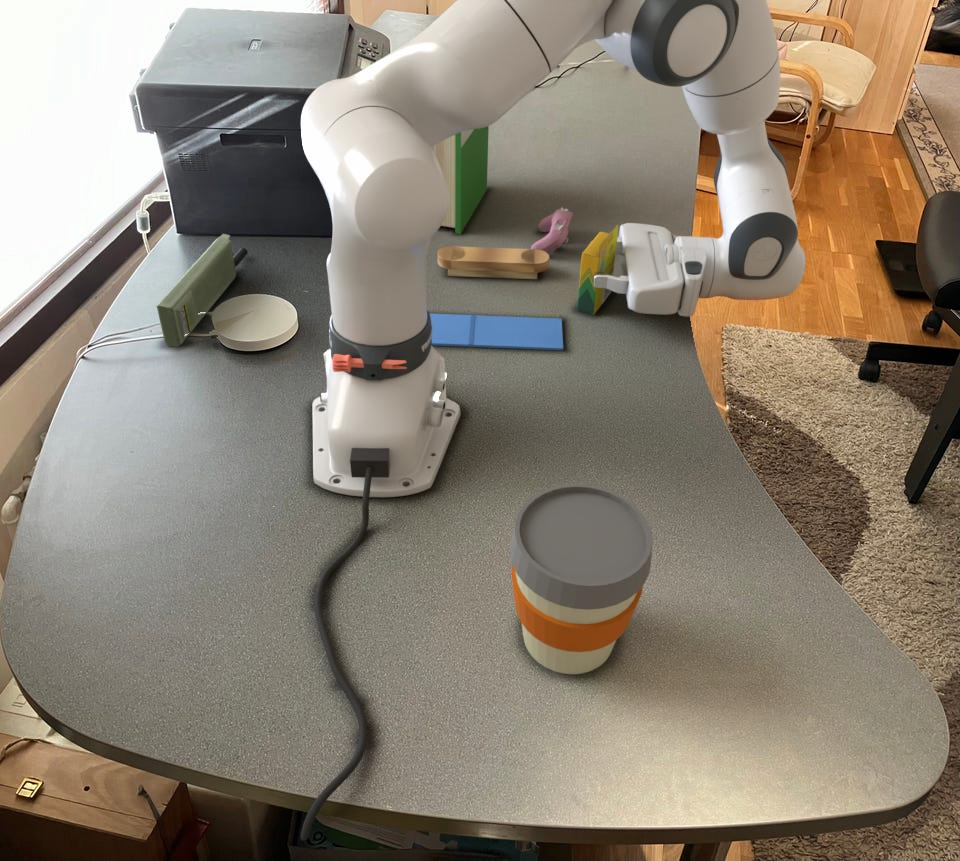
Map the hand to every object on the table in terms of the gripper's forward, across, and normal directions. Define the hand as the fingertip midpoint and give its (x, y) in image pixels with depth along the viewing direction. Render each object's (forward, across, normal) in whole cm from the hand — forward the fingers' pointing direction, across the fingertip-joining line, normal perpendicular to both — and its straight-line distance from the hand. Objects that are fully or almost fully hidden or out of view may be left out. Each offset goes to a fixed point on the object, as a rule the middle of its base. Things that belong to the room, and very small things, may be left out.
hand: (592, 263), depth 127 cm
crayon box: (-1, 0, +7) cm, 7 cm away
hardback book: (+22, -29, +7) cm, 37 cm away
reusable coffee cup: (+5, +61, +7) cm, 62 cm away
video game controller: (+5, -17, +7) cm, 19 cm away
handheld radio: (+56, +3, +7) cm, 57 cm away
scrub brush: (+15, -8, +6) cm, 18 cm away
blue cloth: (+14, +9, +7) cm, 18 cm away
